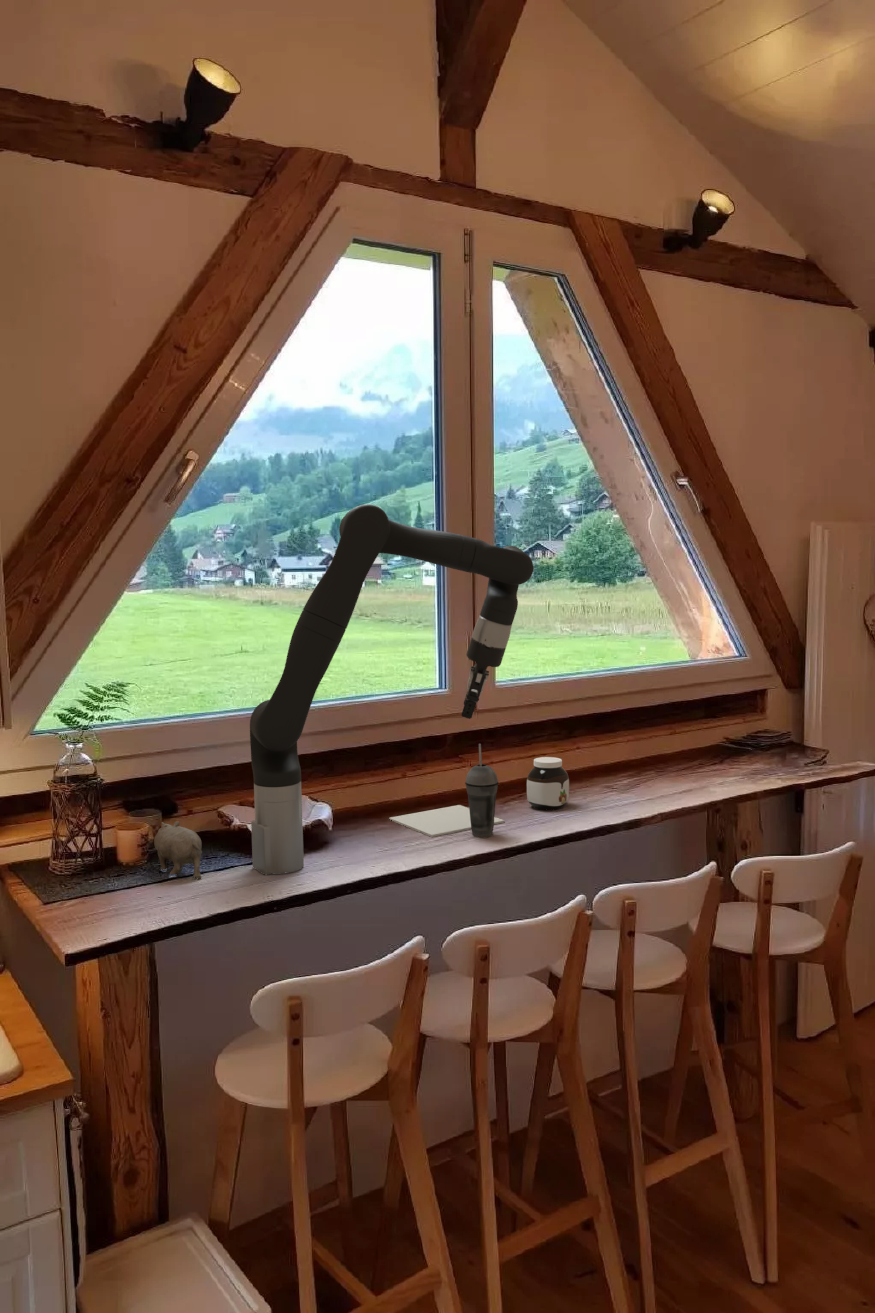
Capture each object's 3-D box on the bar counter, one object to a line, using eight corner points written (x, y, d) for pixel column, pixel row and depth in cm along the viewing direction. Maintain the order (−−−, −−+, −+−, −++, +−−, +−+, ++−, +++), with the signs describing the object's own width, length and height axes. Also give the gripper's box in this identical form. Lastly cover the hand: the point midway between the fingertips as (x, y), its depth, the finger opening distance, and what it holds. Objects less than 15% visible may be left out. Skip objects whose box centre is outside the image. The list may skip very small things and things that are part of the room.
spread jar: (544, 813, 237) (544, 765, 236) (511, 805, 246) (511, 758, 245) (579, 805, 245) (579, 758, 244) (546, 797, 254) (545, 751, 253)
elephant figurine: (166, 876, 186) (160, 801, 194) (152, 900, 197) (147, 829, 204) (208, 873, 190) (201, 800, 197) (192, 897, 200) (186, 827, 207)
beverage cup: (471, 840, 216) (470, 748, 214) (461, 831, 223) (460, 742, 221) (503, 837, 218) (502, 746, 216) (492, 829, 225) (491, 740, 223)
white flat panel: (431, 837, 219) (431, 835, 219) (389, 819, 234) (389, 817, 234) (504, 822, 230) (504, 820, 230) (459, 806, 245) (459, 804, 245)
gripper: (473, 628, 216) (452, 697, 220) (470, 642, 203) (447, 716, 206) (506, 638, 216) (484, 707, 220) (506, 653, 202) (482, 726, 206)
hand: (467, 711), depth 213 cm, fingers open, 8 cm apart
